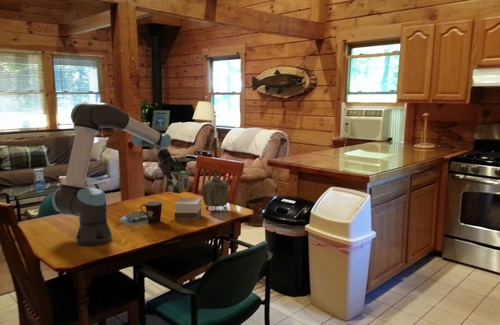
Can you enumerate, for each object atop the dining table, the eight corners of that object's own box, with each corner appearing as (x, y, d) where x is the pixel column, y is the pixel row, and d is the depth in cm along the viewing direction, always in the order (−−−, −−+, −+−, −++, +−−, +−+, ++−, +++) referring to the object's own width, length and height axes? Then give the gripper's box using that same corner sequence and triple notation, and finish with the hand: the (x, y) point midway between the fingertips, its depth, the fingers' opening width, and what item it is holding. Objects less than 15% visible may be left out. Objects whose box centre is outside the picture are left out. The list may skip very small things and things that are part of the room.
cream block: (197, 213, 205) (197, 203, 204) (175, 212, 205) (175, 203, 205) (201, 206, 217) (201, 198, 216) (180, 206, 217) (179, 198, 216)
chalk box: (189, 191, 226) (189, 166, 224) (178, 193, 218) (178, 168, 216) (177, 189, 231) (177, 164, 228) (166, 191, 223) (166, 166, 221)
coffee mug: (165, 221, 205) (165, 203, 204) (151, 225, 199) (151, 206, 198) (153, 216, 213) (152, 199, 212) (139, 220, 207) (138, 202, 205)
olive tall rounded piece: (228, 208, 230) (228, 167, 226) (228, 213, 221) (227, 170, 217) (204, 208, 230) (203, 167, 226) (202, 213, 221) (202, 170, 217)
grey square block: (197, 222, 205) (196, 213, 204) (174, 221, 206) (174, 212, 205) (201, 215, 217) (201, 207, 216) (180, 215, 218) (179, 206, 217)
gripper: (171, 154, 239) (191, 183, 233) (144, 158, 221) (165, 189, 214) (178, 146, 235) (198, 175, 229) (150, 149, 217) (172, 181, 211)
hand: (182, 182), depth 222 cm, fingers closed on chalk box, 9 cm apart
